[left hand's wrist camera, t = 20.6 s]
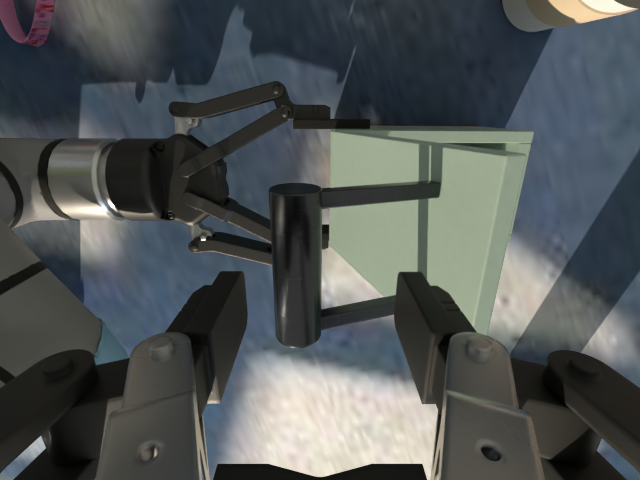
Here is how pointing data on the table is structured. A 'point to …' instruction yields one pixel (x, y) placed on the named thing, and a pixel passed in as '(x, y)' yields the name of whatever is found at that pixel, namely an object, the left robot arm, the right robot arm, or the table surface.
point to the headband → (4, 9)
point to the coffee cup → (562, 12)
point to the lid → (393, 228)
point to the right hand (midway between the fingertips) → (364, 181)
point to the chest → (463, 140)
